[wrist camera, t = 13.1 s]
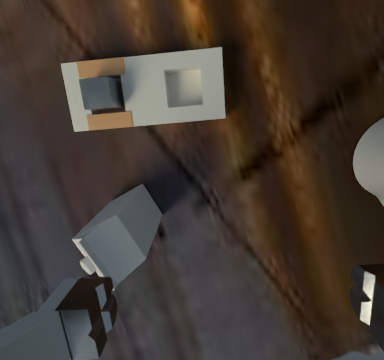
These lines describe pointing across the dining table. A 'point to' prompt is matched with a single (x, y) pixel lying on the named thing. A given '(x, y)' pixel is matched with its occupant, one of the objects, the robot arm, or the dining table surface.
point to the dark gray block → (102, 93)
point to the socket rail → (151, 89)
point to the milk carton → (119, 235)
